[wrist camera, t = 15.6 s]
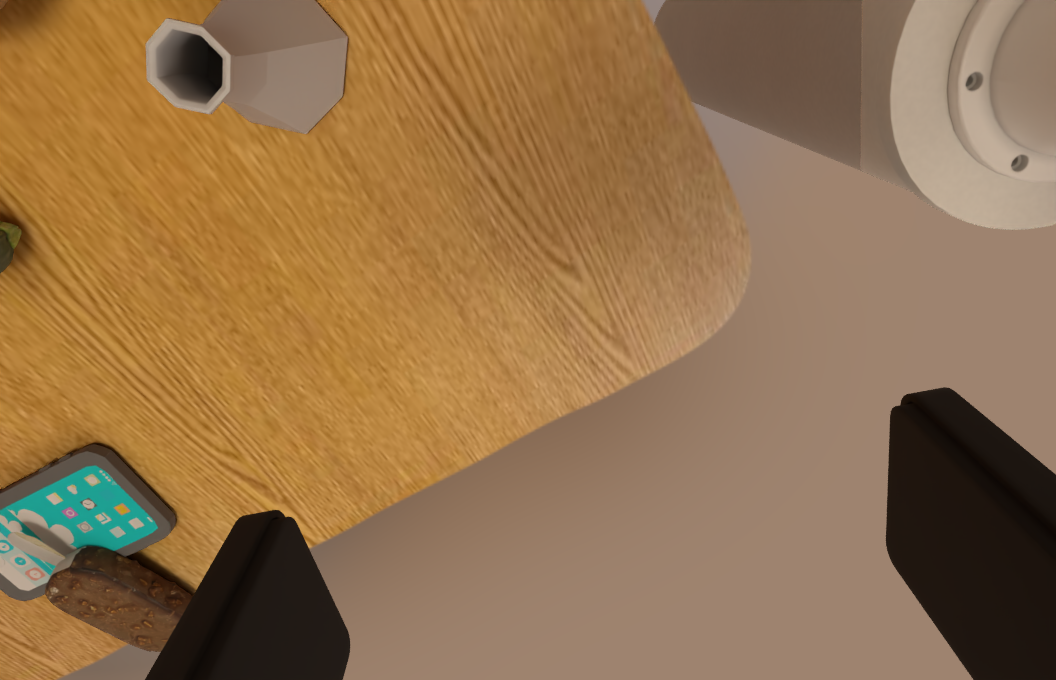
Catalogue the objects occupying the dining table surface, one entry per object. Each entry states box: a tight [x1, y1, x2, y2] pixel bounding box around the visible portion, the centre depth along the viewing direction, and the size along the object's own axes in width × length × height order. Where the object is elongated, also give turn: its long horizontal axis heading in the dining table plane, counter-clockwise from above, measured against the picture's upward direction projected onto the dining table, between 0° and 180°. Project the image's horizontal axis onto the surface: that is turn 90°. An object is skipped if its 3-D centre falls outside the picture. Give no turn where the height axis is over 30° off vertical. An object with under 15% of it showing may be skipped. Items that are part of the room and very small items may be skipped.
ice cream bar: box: [8, 532, 193, 652], centre depth 46 cm, size 5×4×15 cm
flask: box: [146, 0, 348, 134], centre depth 29 cm, size 7×7×10 cm
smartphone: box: [0, 444, 176, 601], centre depth 45 cm, size 9×1×15 cm
